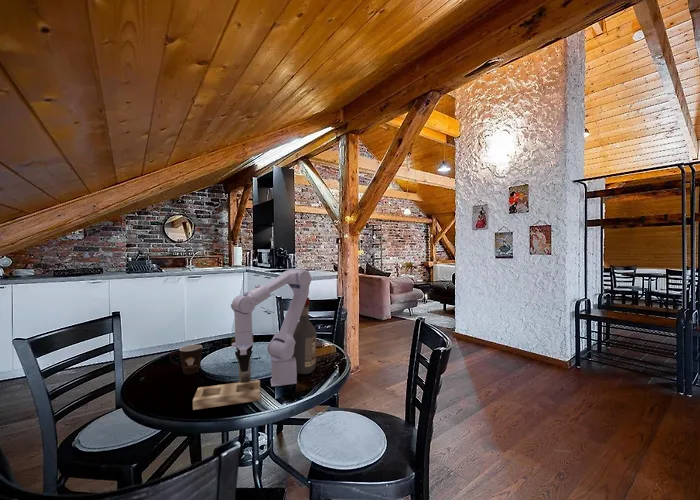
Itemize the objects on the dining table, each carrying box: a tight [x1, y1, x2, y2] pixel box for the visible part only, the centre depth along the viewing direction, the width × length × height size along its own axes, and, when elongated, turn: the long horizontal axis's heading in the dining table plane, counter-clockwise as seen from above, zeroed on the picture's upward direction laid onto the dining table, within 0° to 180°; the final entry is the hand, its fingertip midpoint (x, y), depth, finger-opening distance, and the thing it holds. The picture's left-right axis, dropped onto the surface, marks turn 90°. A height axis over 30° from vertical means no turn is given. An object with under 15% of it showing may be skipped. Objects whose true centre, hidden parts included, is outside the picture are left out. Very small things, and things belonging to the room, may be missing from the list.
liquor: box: [292, 297, 317, 375], centre depth 136 cm, size 9×9×30 cm
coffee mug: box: [169, 344, 203, 375], centre depth 138 cm, size 12×9×10 cm
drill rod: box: [237, 350, 252, 383], centre depth 115 cm, size 4×4×10 cm
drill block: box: [192, 379, 261, 411], centre depth 113 cm, size 21×10×3 cm, turn 106°
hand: (244, 368), depth 115 cm, fingers closed on drill rod, 4 cm apart
